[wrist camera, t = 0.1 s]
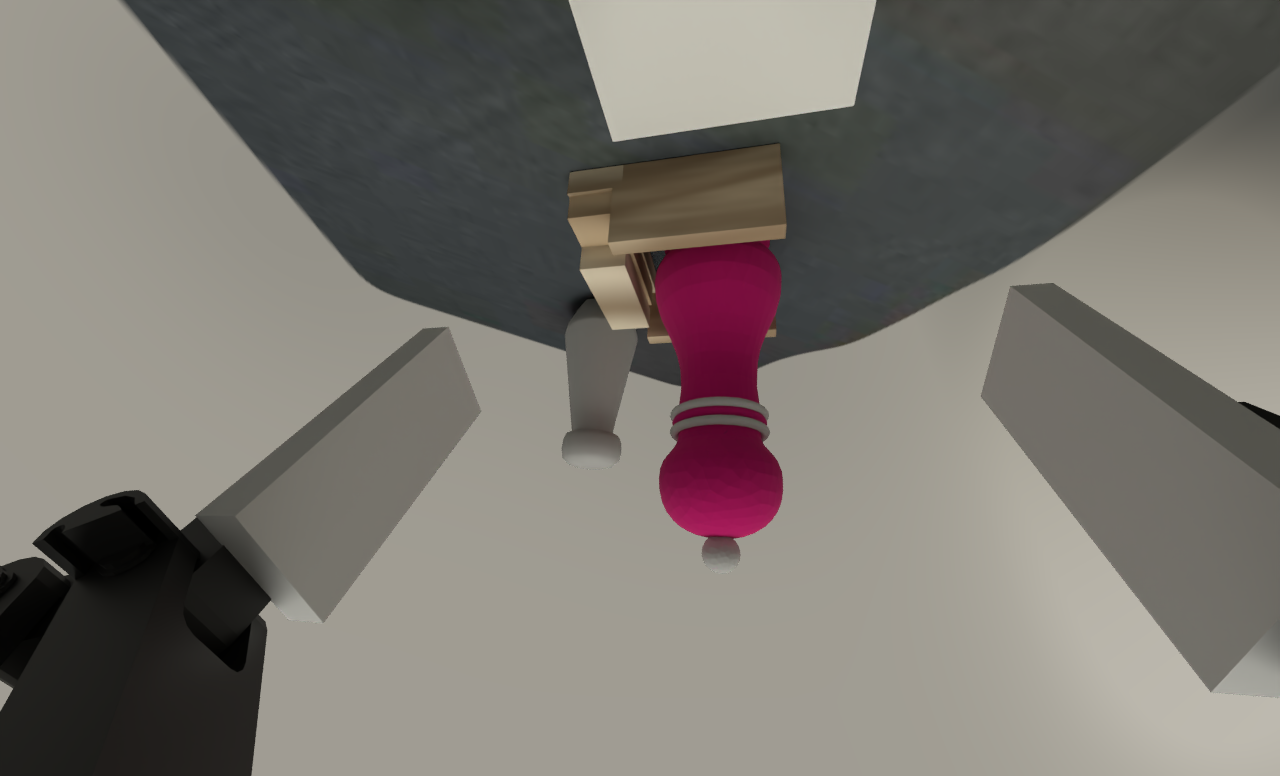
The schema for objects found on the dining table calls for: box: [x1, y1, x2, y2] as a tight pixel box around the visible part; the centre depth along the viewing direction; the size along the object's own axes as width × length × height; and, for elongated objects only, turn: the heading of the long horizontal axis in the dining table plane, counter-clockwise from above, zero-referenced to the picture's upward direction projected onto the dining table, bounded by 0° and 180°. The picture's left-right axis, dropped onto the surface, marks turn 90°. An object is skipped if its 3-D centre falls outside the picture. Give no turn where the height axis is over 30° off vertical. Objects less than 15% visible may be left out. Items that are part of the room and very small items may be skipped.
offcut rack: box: [567, 143, 786, 344], centre depth 29 cm, size 11×11×5 cm
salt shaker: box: [562, 299, 638, 470], centre depth 37 cm, size 6×6×13 cm
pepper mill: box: [655, 240, 783, 574], centre depth 26 cm, size 7×7×20 cm
